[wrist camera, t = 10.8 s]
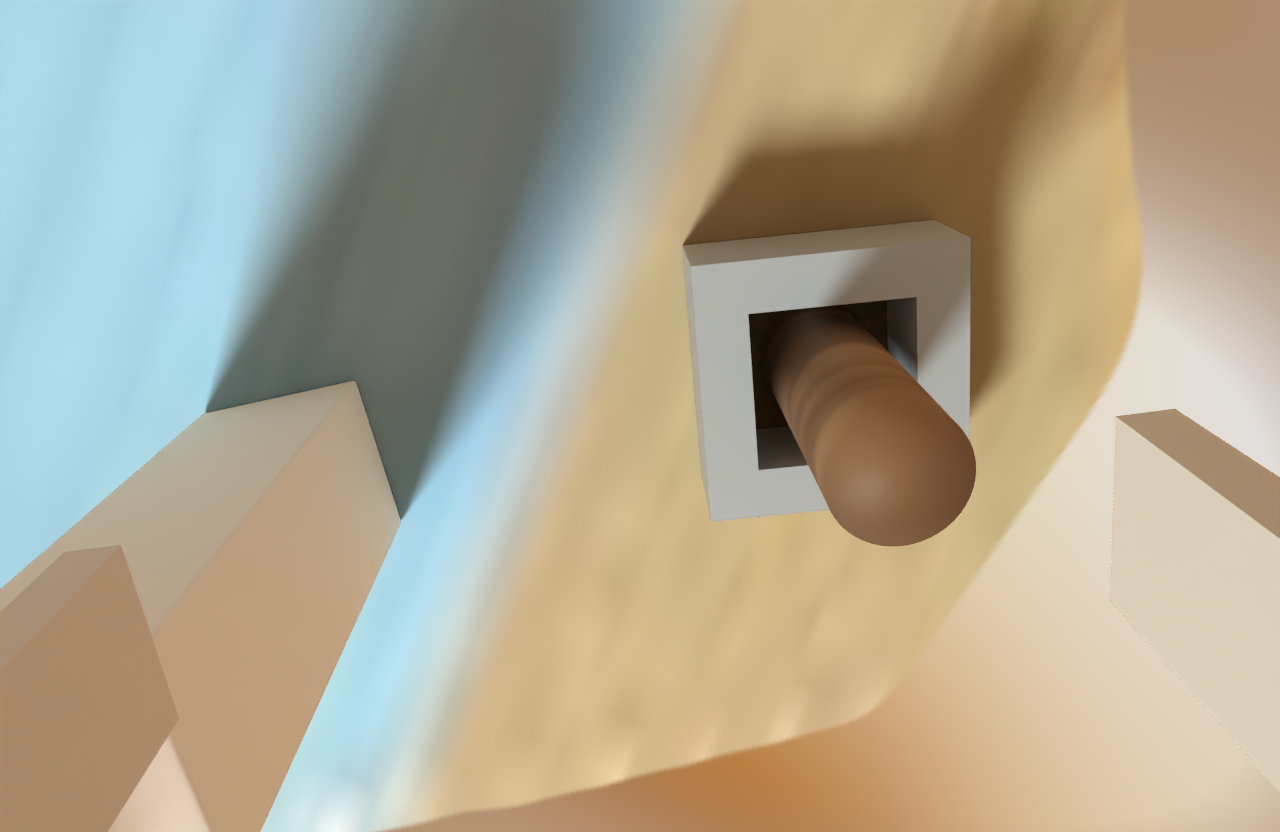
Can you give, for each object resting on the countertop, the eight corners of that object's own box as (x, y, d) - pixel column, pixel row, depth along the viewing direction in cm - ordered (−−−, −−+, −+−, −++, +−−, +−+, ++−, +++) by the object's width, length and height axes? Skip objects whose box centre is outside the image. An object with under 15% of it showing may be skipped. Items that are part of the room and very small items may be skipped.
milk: (356, 378, 38) (61, 749, 18) (403, 524, 40) (188, 1015, 19) (198, 413, 39) (-279, 821, 18) (252, 556, 41) (-121, 1077, 20)
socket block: (682, 245, 37) (690, 266, 33) (934, 219, 37) (970, 237, 33) (702, 478, 40) (711, 521, 36) (935, 454, 40) (969, 495, 36)
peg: (757, 307, 38) (819, 412, 26) (867, 295, 38) (976, 396, 26) (764, 410, 39) (826, 553, 28) (869, 399, 39) (975, 537, 28)
